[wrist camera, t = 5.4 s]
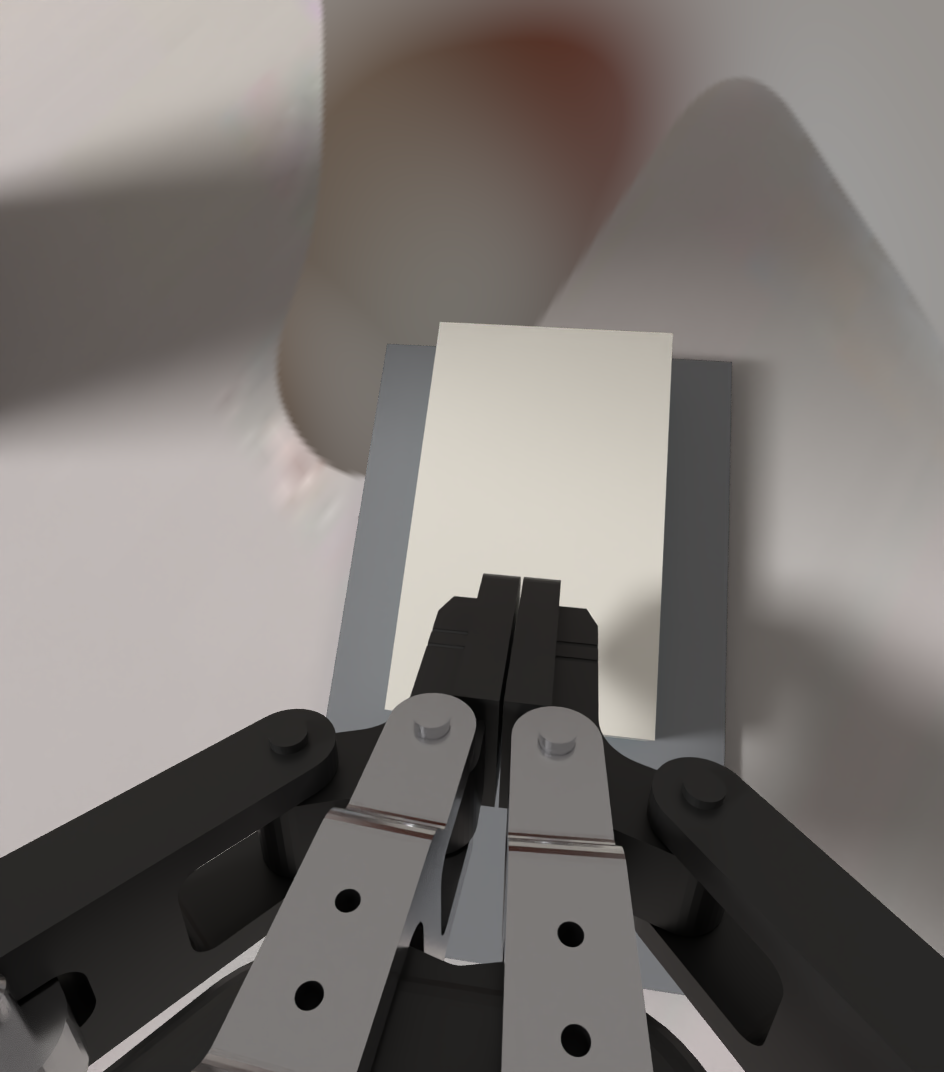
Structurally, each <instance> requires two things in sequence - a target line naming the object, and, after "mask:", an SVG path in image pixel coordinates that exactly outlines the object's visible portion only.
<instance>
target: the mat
mask: <svg viewBox="0 0 944 1072" xmlns="http://www.w3.org/2000/svg"><path fill="white" fill-rule="evenodd" d="M435 353H436V346H419V345H399V344H387V348H386V354H385V361H384V367H383V373H382V379H381V385H380V391H379V397H378V404H377V410H376V416H375V423H374V428H373V434H372V440H371V447H370V453H369V459H368V464H367V471H366V477H365V483H364V489H363V495H362V501H361V507H360V513H359V519H358V526H357V532H356V538H355V544H354V550H353V556H352V562H351V568H350V574H349V581H348V587H347V593H346V599H345V605H344V611H343V617H342V623H341V630H340V636H339V642H338V648H337V654H336V660H335V666H334V672H333V678H332V685H331V691H330V697H329V703H328V709H327V715H326V718H328V719H329V720H330V722H331V723H332V724H333V726H334V728H335V732H336V733H338V732H346V731H354V730H361V729H367V728H371V727H375V726H378V725H381V724H383V723H385V722H387V720H388V718H389V715H390V714H391V712H392V711H389V710H385V703H386V696H387V689H388V682H389V675H390V668H391V661H392V654H393V647H394V640H395V633H396V626H397V619H398V612H399V605H400V598H401V591H402V584H403V577H404V570H405V563H406V556H407V549H408V542H409V535H410V528H411V521H412V514H413V507H414V500H415V493H416V486H417V479H418V472H419V465H420V458H421V451H422V444H423V437H424V430H425V423H426V416H427V409H428V402H429V395H430V388H431V381H432V374H433V367H434V360H435ZM731 389H732V362H722V361H703V360H684V359H672V363H671V386H670V409H669V431H668V454H667V476H666V499H665V521H664V544H663V566H662V589H661V612H660V634H659V657H658V679H657V702H656V724H655V741H634V740H625V739H616V738H608V737H605V739H606V740H607V741H608V743H609V744H610V745H611V746H612V747H613V748H614V749H615V750H617V751H618V752H619V753H621V754H622V755H624V756H625V757H627V758H629V759H631V760H633V761H635V762H638V763H640V764H643V765H645V766H648V767H651V768H653V769H656V770H658V768H659V767H660V766H662V765H663V764H664V763H666V762H668V761H670V760H673V759H676V758H681V757H697V758H703V759H707V760H710V761H713V762H716V763H718V764H720V765H723V766H724V753H725V701H726V649H727V597H728V545H729V493H730V441H731ZM499 787H500V773H499V780H498V787H497V793H496V800H495V807H489V806H481V807H480V813H479V819H478V825H477V828H476V832H475V834H474V836H473V848H472V853H471V856H470V860H469V864H468V868H467V872H466V876H465V879H464V883H463V887H462V891H461V895H460V899H459V902H458V906H457V910H456V914H455V918H454V922H453V925H452V929H451V933H450V937H449V941H448V945H447V949H446V953H445V958H450V959H456V960H463V961H469V962H475V963H482V964H484V963H494V962H501V938H502V911H503V885H504V858H505V839H506V823H507V809H506V808H498V807H499ZM635 934H636V942H637V950H638V957H639V965H640V973H641V981H642V988H643V989H648V990H655V991H661V992H668V993H674V994H680V995H685V994H684V993H683V992H682V990H681V989H680V988H679V987H678V985H677V984H676V983H675V982H674V980H673V979H672V978H671V977H670V975H669V974H668V973H667V971H666V970H665V969H664V968H663V966H662V965H661V964H660V963H659V961H658V960H657V959H656V957H655V956H654V955H653V954H652V952H651V951H650V950H649V949H648V947H647V946H646V945H645V943H644V942H643V941H642V940H641V938H640V937H639V936H638V934H637V933H636V931H635Z"/></svg>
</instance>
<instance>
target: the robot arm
mask: <svg viewBox="0 0 944 1072" xmlns="http://www.w3.org/2000/svg"><path fill="white" fill-rule="evenodd" d="M560 588H561V580H554V579H543V578H532V577H524V578H523V584H522V590H521V577H520V576H509V575H498V574H487V573H484V574H483V576H482V580H481V584H480V588H479V592H478V596H477V598H470V597H459V596H454V597H452V598H451V599H450V600H449V601H448V602H447V603H446V604H445V605H444V606H443V607H441V608H440V609H439V610H438V613H437V616H436V619H435V622H434V625H433V629H432V631H431V634H430V637H429V640H428V646H426V650H425V653H424V656H423V659H422V662H421V665H420V668H419V671H418V674H417V677H416V680H415V683H414V686H413V689H412V692H411V695H410V698H408V699H406V700H404V701H402V702H401V703H400V704H398V705H397V706H396V707H395V708H394V709H393V710H392V712H391V714H390V715H389V718H388V720H387V722H385V723H383V724H381V725H378V726H375V727H371V728H367V729H361V730H354V731H346V732H338V733H336V732H335V728H334V726H333V724H332V723H331V722H330V720H329V719H328V718H326V717H325V716H324V715H322V714H320V713H318V712H315V711H311V710H306V709H290V710H284V711H280V712H277V713H274V714H271V715H269V716H267V717H265V718H263V719H261V720H259V721H257V722H255V723H254V724H252V725H250V726H248V727H246V728H244V729H242V730H240V731H239V732H237V733H235V734H233V735H231V736H229V737H227V738H225V739H223V740H222V741H220V742H218V743H216V744H214V745H212V746H210V747H208V748H207V749H205V750H203V751H201V752H199V753H197V754H195V755H193V756H192V757H190V758H188V759H186V760H184V761H182V762H180V763H178V764H177V765H175V766H173V767H171V768H169V769H167V770H165V771H163V772H161V773H160V774H158V775H156V776H154V777H152V778H150V779H148V780H146V781H145V782H143V783H141V784H139V785H137V786H135V787H133V788H131V789H130V790H128V791H126V792H124V793H122V794H120V795H118V796H116V797H114V798H113V799H111V800H109V801H107V802H105V803H103V804H101V805H99V806H98V807H96V808H94V809H92V810H90V811H88V812H86V813H84V814H83V815H81V816H79V817H77V818H75V819H73V820H71V821H69V822H68V823H66V824H64V825H62V826H60V827H58V828H56V829H54V830H52V831H51V832H49V833H47V834H45V835H43V836H41V837H39V838H37V839H36V840H34V841H32V842H30V843H28V844H26V845H24V846H22V847H21V848H19V849H17V850H15V851H13V852H11V853H9V854H7V855H5V856H4V857H2V858H0V1072H87V1070H88V1066H90V1065H91V1064H92V1063H94V1062H95V1061H96V1060H98V1059H99V1058H101V1057H102V1056H103V1055H105V1054H106V1053H107V1052H109V1051H110V1050H111V1049H113V1048H114V1047H115V1046H117V1045H118V1044H120V1043H121V1042H122V1041H124V1040H125V1039H126V1038H128V1037H129V1036H130V1035H132V1034H133V1033H134V1032H136V1031H137V1030H139V1029H140V1028H141V1027H143V1026H144V1025H145V1024H147V1023H148V1022H149V1021H151V1020H152V1019H153V1018H155V1017H156V1016H158V1015H159V1014H160V1013H162V1012H163V1011H164V1010H166V1009H167V1008H168V1007H170V1006H171V1005H172V1004H174V1003H175V1002H177V1001H178V1000H179V999H181V998H182V997H183V996H185V995H186V994H187V993H189V992H190V991H191V990H193V989H194V988H196V987H197V986H198V985H200V984H201V983H202V982H204V981H205V980H206V979H208V978H209V977H211V976H212V975H213V974H215V973H216V972H217V971H219V970H220V969H221V968H223V967H224V966H225V965H227V964H228V963H230V962H231V961H232V960H234V959H235V958H236V957H238V956H239V955H240V954H242V953H243V952H244V951H246V950H247V949H249V948H250V947H251V946H253V945H254V944H255V943H257V942H258V941H259V940H261V939H262V938H263V937H265V936H266V937H265V939H264V941H263V943H262V945H261V947H260V949H259V952H258V954H257V956H256V958H255V960H254V961H252V962H250V963H248V964H246V965H244V966H242V967H240V968H238V969H237V970H235V971H233V972H232V973H230V974H229V975H227V976H225V977H224V978H222V979H221V980H219V981H218V982H217V983H215V984H214V985H212V986H211V987H210V988H209V989H207V990H206V991H205V992H203V993H202V994H201V995H200V996H198V997H197V998H196V999H195V1000H193V1001H192V1002H191V1003H190V1004H188V1005H187V1006H186V1007H184V1008H183V1009H182V1010H181V1011H179V1012H178V1013H177V1014H176V1015H174V1016H173V1017H172V1018H171V1019H169V1020H168V1021H167V1022H165V1023H164V1024H163V1025H162V1026H160V1027H159V1028H158V1029H157V1030H155V1031H154V1032H153V1033H152V1034H150V1035H149V1036H148V1037H146V1038H145V1039H144V1040H143V1041H141V1042H140V1043H139V1044H138V1045H136V1046H135V1047H134V1048H133V1049H131V1050H130V1051H129V1052H127V1053H126V1054H125V1055H124V1056H122V1057H121V1058H120V1059H119V1060H117V1061H116V1062H115V1063H114V1064H112V1065H111V1066H110V1067H108V1068H107V1069H106V1070H105V1071H103V1072H706V1070H705V1069H704V1068H703V1066H702V1065H701V1064H700V1062H699V1061H698V1060H697V1059H696V1058H695V1056H694V1055H693V1054H692V1053H691V1052H690V1051H689V1050H688V1049H687V1047H686V1046H685V1045H684V1044H683V1043H682V1042H681V1041H680V1040H679V1039H678V1038H677V1037H676V1036H675V1035H673V1034H672V1033H671V1032H670V1031H669V1030H668V1029H667V1028H666V1027H665V1026H663V1025H662V1024H661V1023H659V1022H658V1021H657V1020H655V1019H654V1018H653V1017H651V1016H650V1015H649V1014H647V1013H646V1011H645V1004H644V996H643V988H642V981H641V973H640V965H639V957H638V950H637V942H636V934H635V931H636V933H637V934H638V936H639V937H640V938H641V940H642V941H643V942H644V943H645V945H646V946H647V947H648V949H649V950H650V951H651V952H652V954H653V955H654V956H655V957H656V959H657V960H658V961H659V963H660V964H661V965H662V966H663V968H664V969H665V970H666V971H667V973H668V974H669V975H670V977H671V978H672V979H673V980H674V982H675V983H676V984H677V985H678V987H679V988H680V989H681V990H682V992H683V993H684V994H685V996H686V997H687V998H688V999H689V1001H690V1002H691V1003H692V1004H693V1006H694V1007H695V1008H696V1010H697V1011H698V1012H699V1013H700V1015H701V1016H702V1017H703V1018H704V1020H705V1021H706V1022H707V1024H708V1025H709V1026H710V1027H711V1029H712V1030H713V1031H714V1032H715V1034H716V1035H717V1036H718V1038H719V1039H720V1040H721V1041H722V1043H723V1044H724V1045H725V1046H726V1048H727V1049H728V1050H729V1051H730V1053H731V1054H732V1055H733V1057H734V1058H735V1059H736V1060H737V1062H738V1063H739V1064H740V1065H741V1067H742V1068H743V1069H744V1071H745V1072H944V958H943V957H942V956H941V955H940V954H939V953H938V952H936V951H935V950H934V949H933V948H932V947H931V946H930V945H929V944H927V943H926V942H925V941H924V940H923V939H922V938H921V937H919V936H918V935H917V934H916V933H915V932H914V931H913V930H912V929H910V928H909V927H908V926H907V925H906V924H905V923H904V922H903V921H901V920H900V919H899V918H898V917H897V916H896V915H895V914H893V913H892V912H891V911H890V910H889V909H888V908H887V907H886V906H884V905H883V904H882V903H881V902H880V901H879V900H878V899H876V898H875V897H874V896H873V895H872V894H871V893H870V892H869V891H867V890H866V889H865V888H864V887H863V886H862V885H861V884H860V883H858V882H857V881H856V880H855V879H854V878H853V877H852V876H850V875H849V874H848V873H847V872H846V871H845V870H844V869H843V868H841V867H840V866H839V865H838V864H837V863H836V862H835V861H833V860H832V859H831V858H830V857H829V856H828V855H827V854H826V853H824V852H823V851H822V850H821V849H820V848H819V847H818V846H817V845H815V844H814V843H813V842H812V841H811V840H810V839H809V838H807V837H806V836H805V835H804V834H803V833H802V832H801V831H800V830H798V829H797V828H796V827H795V826H794V825H793V824H792V823H790V822H789V821H788V820H787V819H786V818H785V817H784V816H783V815H781V814H780V813H779V812H778V811H777V810H776V809H775V808H774V807H772V806H771V805H770V804H769V803H768V802H767V801H766V800H764V799H763V798H762V797H761V796H760V795H759V794H758V793H757V792H755V791H754V790H753V789H752V788H751V787H750V786H749V785H748V784H746V783H745V782H744V781H743V780H742V779H741V778H740V777H738V776H737V775H736V774H735V773H733V772H732V771H731V770H729V769H728V768H726V767H724V766H723V765H720V764H718V763H716V762H713V761H710V760H707V759H703V758H697V757H681V758H676V759H673V760H670V761H668V762H666V763H664V764H663V765H662V766H660V767H659V768H658V770H656V769H653V768H651V767H648V766H645V765H643V764H640V763H638V762H635V761H633V760H631V759H629V758H627V757H625V756H624V755H622V754H621V753H619V752H618V751H617V750H615V749H614V748H613V747H612V746H611V745H610V744H609V743H608V741H607V740H606V739H605V737H604V736H603V734H602V732H601V729H600V726H599V695H598V625H597V624H596V622H595V621H594V619H593V618H592V616H591V615H590V613H589V611H588V610H587V609H585V608H574V607H564V606H559V601H560ZM520 590H521V597H520ZM499 773H500V787H499V807H498V808H506V809H507V823H506V839H505V858H504V885H503V911H502V938H501V962H494V963H484V964H475V965H466V966H457V965H452V964H449V963H447V962H445V961H444V958H445V953H446V949H447V945H448V941H449V937H450V933H451V929H452V925H453V922H454V918H455V914H456V910H457V906H458V902H459V899H460V895H461V891H462V887H463V883H464V879H465V876H466V872H467V868H468V864H469V860H470V856H471V853H472V848H473V836H474V834H475V832H476V828H477V825H478V819H479V813H480V807H481V806H489V807H495V800H496V793H497V787H498V780H499ZM257 830H258V831H257ZM255 831H256V832H255ZM254 832H255V833H254ZM252 833H253V834H252ZM251 834H252V835H251ZM249 835H250V836H249ZM248 836H249V837H248ZM246 837H247V838H246ZM244 838H245V839H244ZM243 839H244V840H243ZM241 840H242V841H241ZM240 841H241V842H240ZM238 842H239V843H238ZM235 844H236V845H235ZM233 845H234V846H233ZM232 846H233V847H232ZM230 847H231V848H230ZM229 848H230V849H229ZM227 849H228V850H227ZM225 850H226V851H225ZM224 851H225V852H224ZM222 852H223V853H222ZM221 853H222V854H221ZM219 854H220V855H219ZM218 855H219V856H218ZM216 856H217V857H216ZM214 857H215V858H214ZM213 858H214V859H213ZM211 859H212V860H211ZM210 860H211V861H210ZM208 861H209V862H208ZM205 863H206V864H205ZM203 864H204V865H203ZM202 865H203V866H202ZM200 866H201V867H200ZM199 867H200V868H199ZM197 868H198V869H197Z"/></svg>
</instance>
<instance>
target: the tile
mask: <svg viewBox="0 0 944 1072" xmlns="http://www.w3.org/2000/svg"><path fill="white" fill-rule="evenodd" d="M672 341H673V333H658V332H638V331H617V330H596V329H576V328H555V327H535V326H513V325H512V326H511V325H493V324H472V323H450V322H440V325H439V332H438V340H437V346H436V353H435V360H434V367H433V374H432V381H431V388H430V395H429V402H428V409H427V416H426V423H425V430H424V437H423V444H422V451H421V458H420V465H419V472H418V479H417V486H416V493H415V500H414V507H413V514H412V521H411V528H410V535H409V542H408V549H407V556H406V563H405V570H404V577H403V584H402V591H401V598H400V605H399V612H398V619H397V626H396V633H395V640H394V647H393V654H392V661H391V668H390V675H389V682H388V689H387V696H386V703H385V710H389V711H392V710H393V709H394V708H395V707H396V706H397V705H398V704H400V703H401V702H402V701H404V700H406V699H408V698H410V695H411V692H412V689H413V686H414V683H415V680H416V677H417V674H418V671H419V668H420V665H421V662H422V659H423V656H424V653H425V650H426V646H428V640H429V637H430V634H431V631H432V629H433V625H434V622H435V619H436V616H437V613H438V610H439V609H440V608H441V607H443V606H444V605H445V604H446V603H447V602H448V601H449V600H450V599H451V598H452V597H454V596H459V597H470V598H477V596H478V592H479V588H480V584H481V580H482V576H483V574H484V573H487V574H498V575H509V576H520V577H521V590H522V584H523V578H524V577H532V578H543V579H554V580H561V588H560V601H559V606H564V607H574V608H585V609H587V610H588V611H589V613H590V615H591V616H592V618H593V619H594V621H595V622H596V624H597V625H598V695H599V726H600V729H601V732H602V734H603V736H604V737H608V738H616V739H625V740H634V741H655V724H656V702H657V679H658V657H659V634H660V612H661V589H662V566H663V544H664V521H665V499H666V476H667V454H668V431H669V409H670V386H671V363H672ZM521 590H520V597H521Z"/></svg>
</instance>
